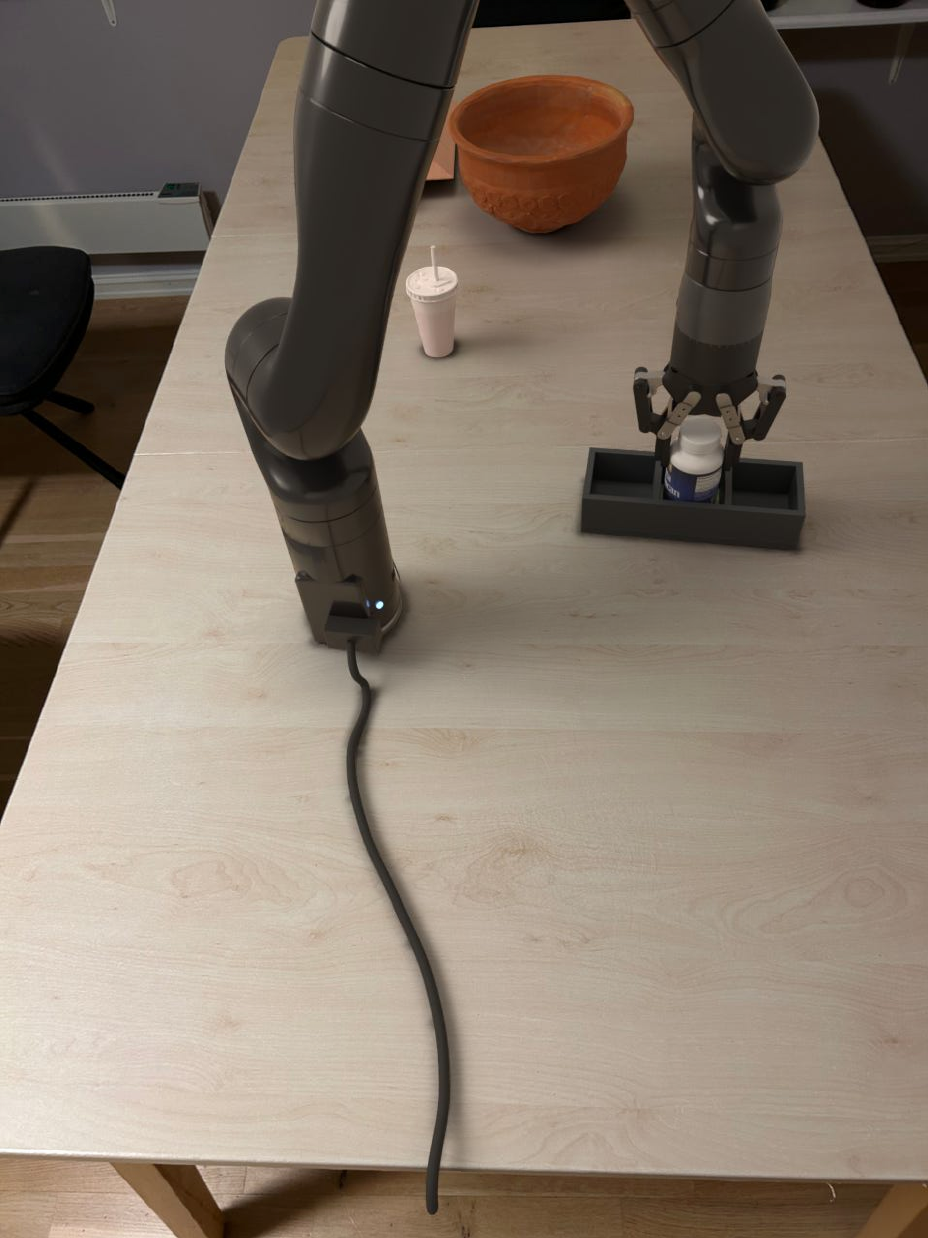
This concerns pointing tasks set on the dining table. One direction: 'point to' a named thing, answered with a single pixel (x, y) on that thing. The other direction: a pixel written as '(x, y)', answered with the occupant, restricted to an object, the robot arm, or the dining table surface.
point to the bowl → (542, 148)
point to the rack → (742, 514)
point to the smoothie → (434, 306)
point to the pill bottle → (695, 462)
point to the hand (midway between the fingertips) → (695, 462)
